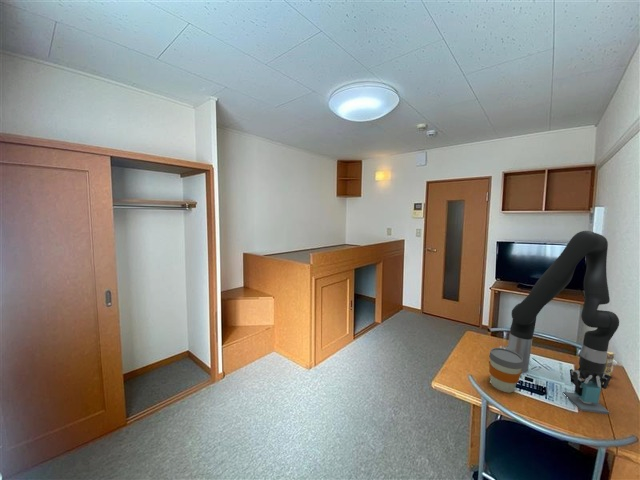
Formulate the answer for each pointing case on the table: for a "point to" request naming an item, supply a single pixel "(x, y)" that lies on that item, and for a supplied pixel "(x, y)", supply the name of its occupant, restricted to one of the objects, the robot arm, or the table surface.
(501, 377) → the reusable coffee cup
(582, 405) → the gray base with block
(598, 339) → the robot arm
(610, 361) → the candy box
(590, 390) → the teal block
